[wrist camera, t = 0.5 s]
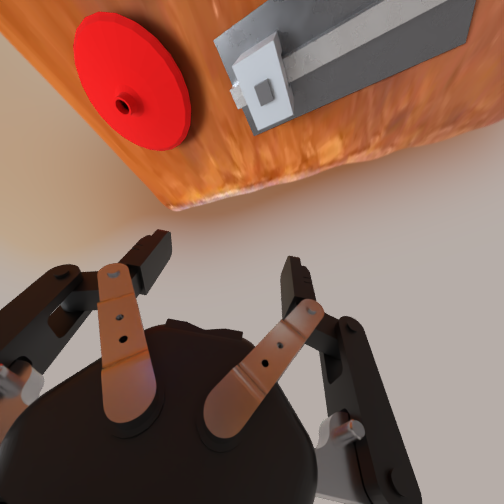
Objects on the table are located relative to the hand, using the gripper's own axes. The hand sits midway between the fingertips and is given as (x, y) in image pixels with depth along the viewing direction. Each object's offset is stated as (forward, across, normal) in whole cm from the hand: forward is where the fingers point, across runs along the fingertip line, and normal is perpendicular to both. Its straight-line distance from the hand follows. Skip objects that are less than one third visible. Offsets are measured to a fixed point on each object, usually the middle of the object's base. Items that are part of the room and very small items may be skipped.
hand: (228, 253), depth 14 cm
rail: (+24, -6, -16) cm, 29 cm away
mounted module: (+25, 0, -11) cm, 27 cm away
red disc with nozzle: (+28, +18, -7) cm, 34 cm away
